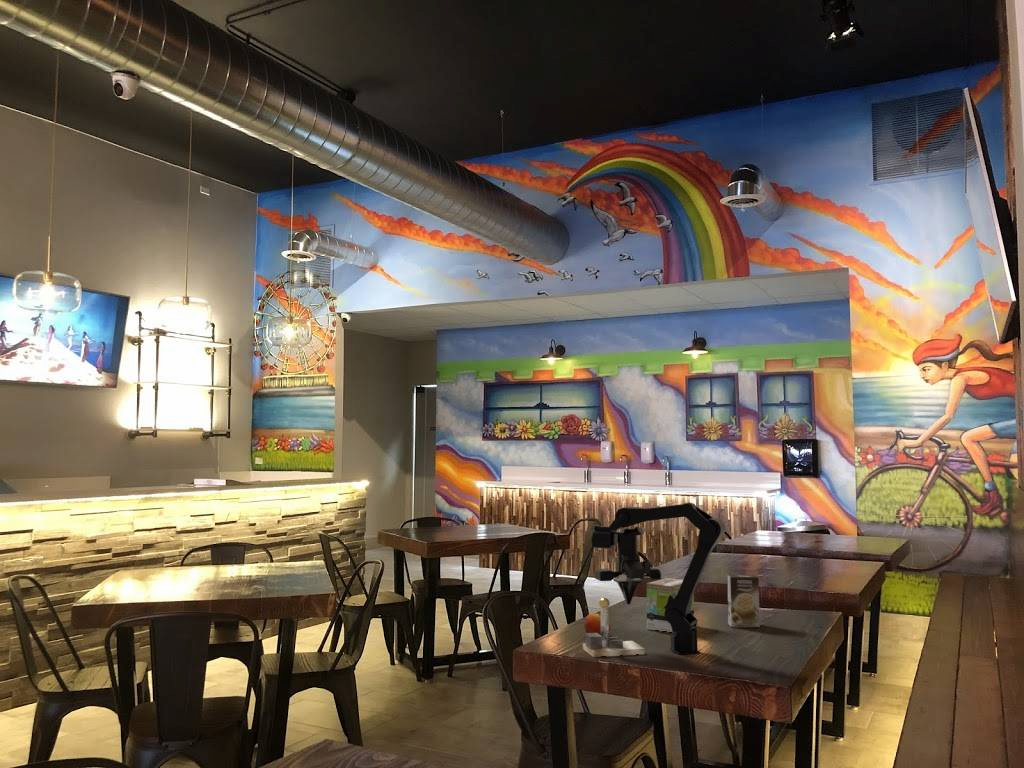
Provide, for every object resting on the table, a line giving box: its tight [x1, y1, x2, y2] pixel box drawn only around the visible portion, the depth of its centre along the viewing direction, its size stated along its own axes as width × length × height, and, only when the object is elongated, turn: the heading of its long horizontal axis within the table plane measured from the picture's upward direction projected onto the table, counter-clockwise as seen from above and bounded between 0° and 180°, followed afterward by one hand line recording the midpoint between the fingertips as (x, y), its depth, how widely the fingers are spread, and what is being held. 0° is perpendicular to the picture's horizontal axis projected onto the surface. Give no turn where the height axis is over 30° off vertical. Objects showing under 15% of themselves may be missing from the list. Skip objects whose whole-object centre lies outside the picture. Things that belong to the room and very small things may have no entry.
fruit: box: [584, 612, 612, 635], centre depth 251 cm, size 8×8×8 cm
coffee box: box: [727, 573, 760, 628], centre depth 266 cm, size 9×6×16 cm
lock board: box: [582, 632, 646, 658], centre depth 232 cm, size 15×10×5 cm, turn 102°
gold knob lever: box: [598, 597, 611, 647], centre depth 232 cm, size 6×3×13 cm, turn 102°
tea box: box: [646, 577, 695, 633], centre depth 264 cm, size 15×10×15 cm, turn 143°
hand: (628, 604), depth 239 cm, fingers closed
